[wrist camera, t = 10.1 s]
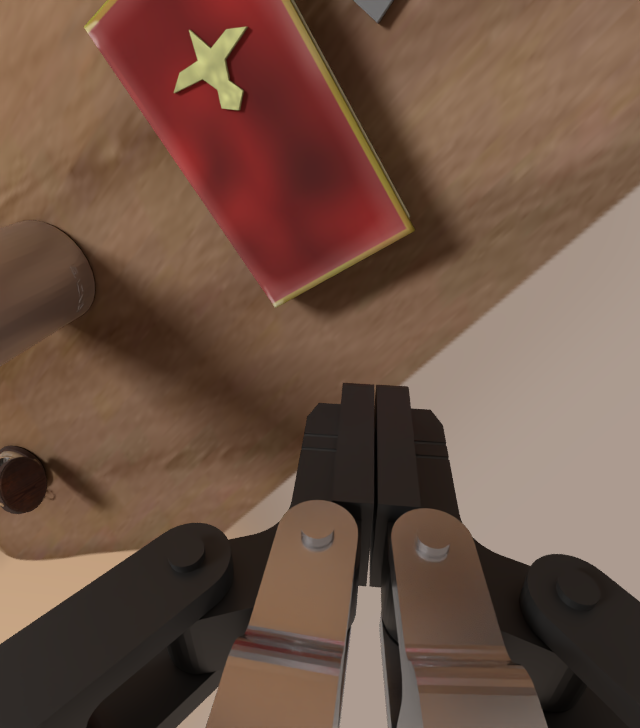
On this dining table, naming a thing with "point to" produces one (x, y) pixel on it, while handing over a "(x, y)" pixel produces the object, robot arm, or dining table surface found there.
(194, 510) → the dining table surface
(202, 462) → the dining table surface
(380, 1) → the mat
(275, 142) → the hardcover book
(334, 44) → the dining table surface
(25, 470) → the compass
